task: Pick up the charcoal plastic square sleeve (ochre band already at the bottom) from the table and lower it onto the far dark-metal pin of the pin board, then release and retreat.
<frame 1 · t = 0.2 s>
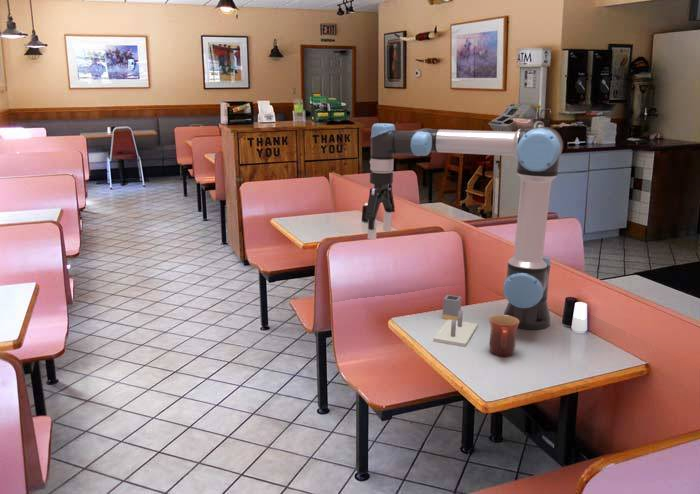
hand: (379, 234, 213), 27 cm above the table, fingers open, 13 cm apart
mug: (501, 355, 187), on the table
pin board: (456, 333, 202), on the table
sleeve: (451, 317, 216), on the table
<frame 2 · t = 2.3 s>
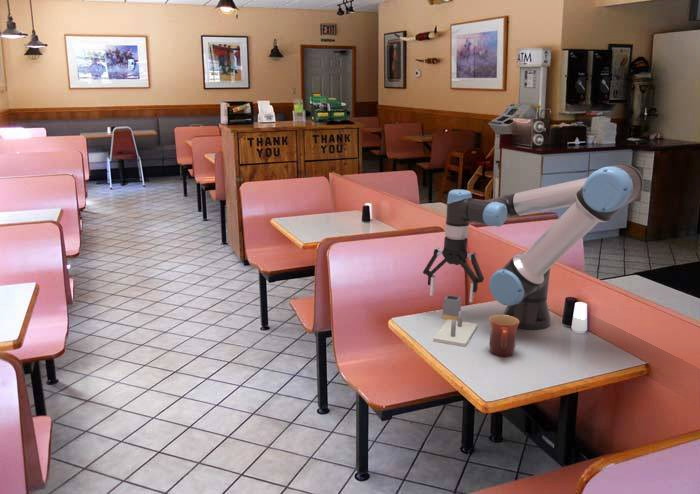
hand: (451, 297, 215), 7 cm above the table, fingers open, 13 cm apart
nothing on the table moved.
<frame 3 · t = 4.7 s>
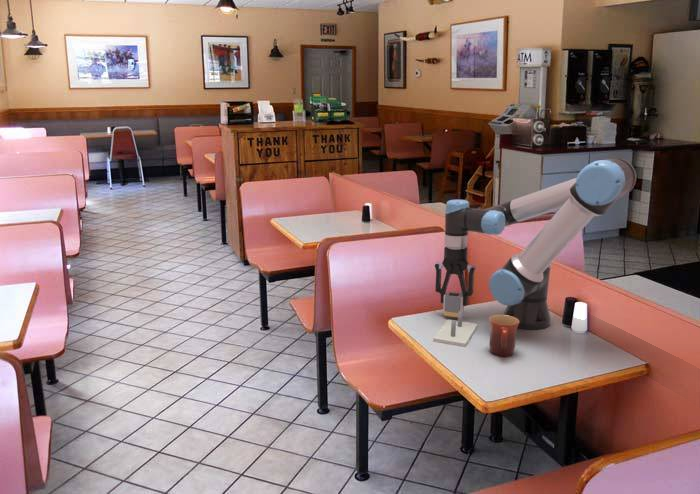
hand: (453, 313, 215), 2 cm above the table, fingers closed on sleeve, 5 cm apart
sleeve: (453, 314, 215), point 1 cm above the table, touching gripper
everything else where it was.
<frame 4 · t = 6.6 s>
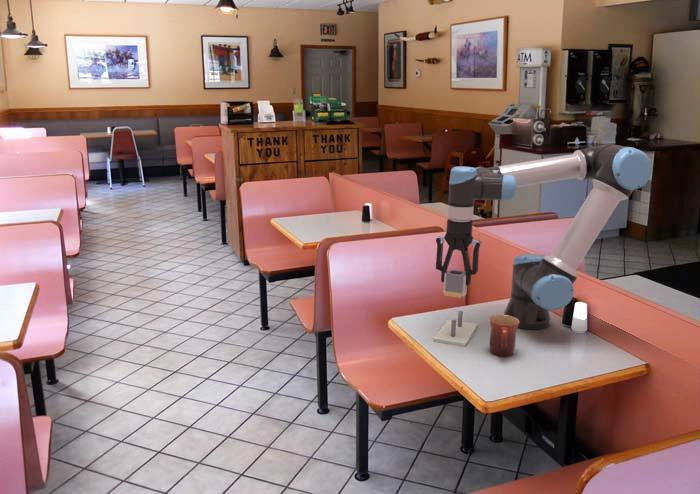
hand: (454, 293, 194), 15 cm above the table, fingers closed on sleeve, 5 cm apart
sleeve: (454, 294, 194), point 14 cm above the table, touching gripper
everything else where it was.
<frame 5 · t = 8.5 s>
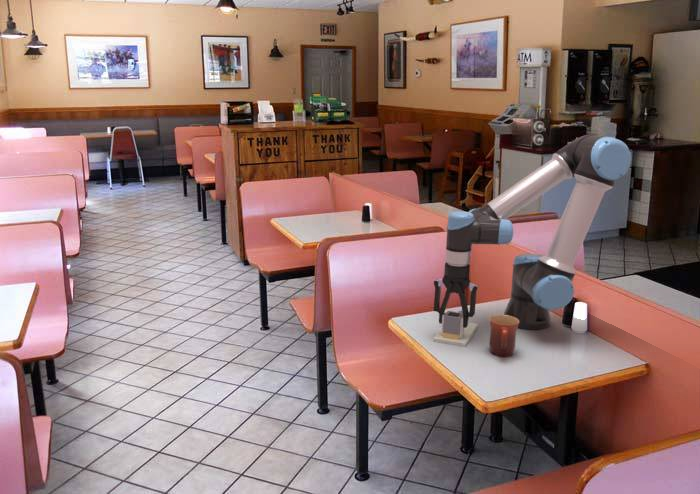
hand: (452, 334, 197), 1 cm above the table, fingers closed on sleeve, 5 cm apart
sleeve: (452, 335, 197), point 1 cm above the table, touching gripper
everything else where it was.
when the fingers open (1 cm above the table, at t = 8.5 s): sleeve stays where it is, resting on pin board.
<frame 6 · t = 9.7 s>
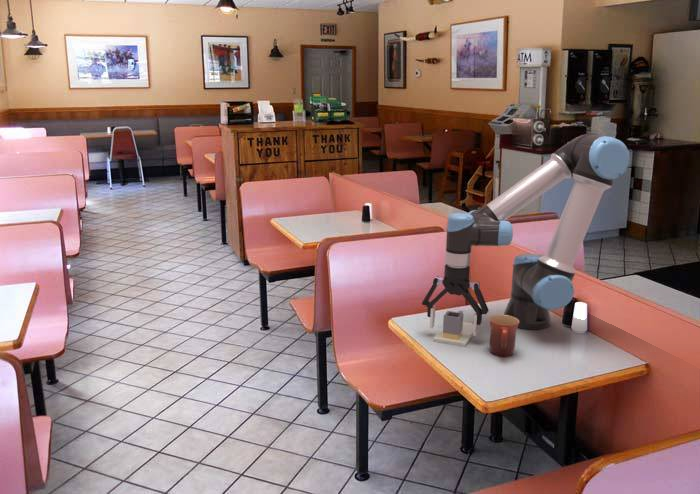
hand: (453, 330, 197), 3 cm above the table, fingers open, 13 cm apart
sleeve: (452, 335, 197), point 1 cm above the table, touching pin board
everything else where it was.
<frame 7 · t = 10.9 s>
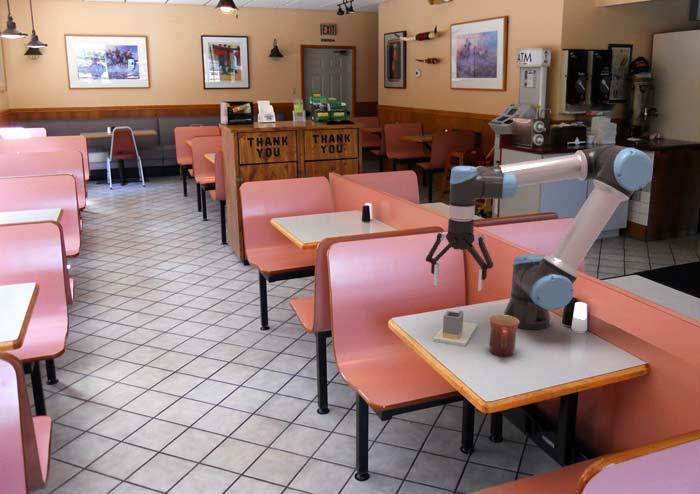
hand: (457, 286, 194), 17 cm above the table, fingers open, 13 cm apart
nothing on the table moved.
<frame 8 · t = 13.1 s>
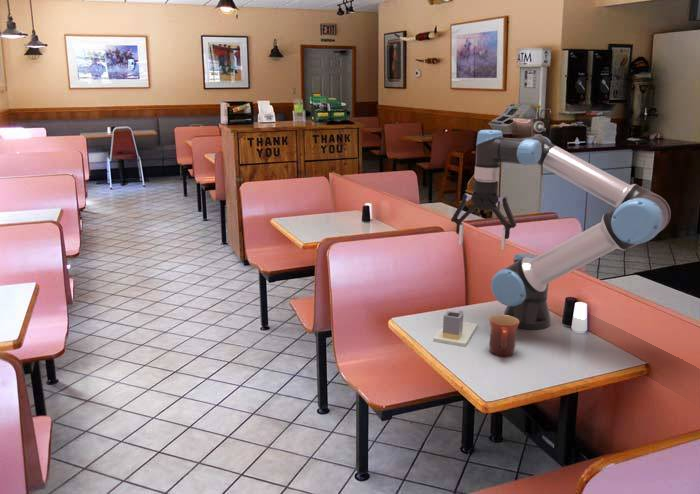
hand: (481, 246, 203), 27 cm above the table, fingers open, 13 cm apart
nothing on the table moved.
at the end: sleeve 0.2 cm from the target spot on the pin board, point 1.0 cm above the pin board's base; sleeve tilted 0°; the gripper is holding nothing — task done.
